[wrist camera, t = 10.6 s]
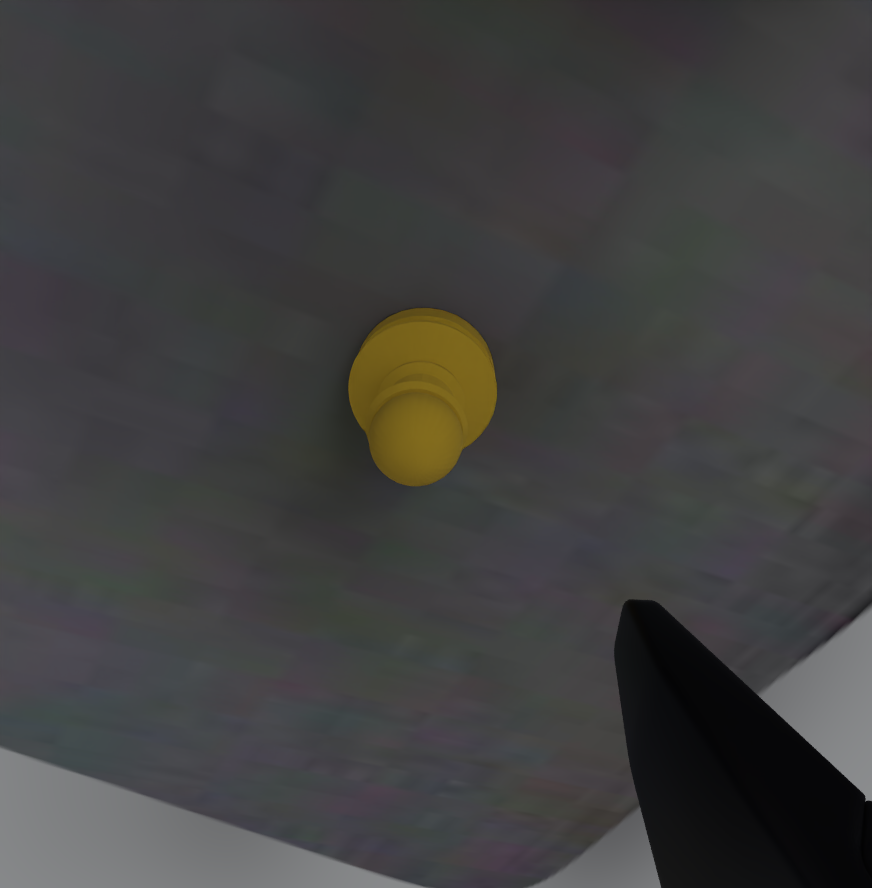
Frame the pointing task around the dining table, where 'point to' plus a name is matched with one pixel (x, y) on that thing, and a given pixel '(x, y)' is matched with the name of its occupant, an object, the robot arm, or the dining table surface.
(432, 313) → the chess piece
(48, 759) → the dining table surface
